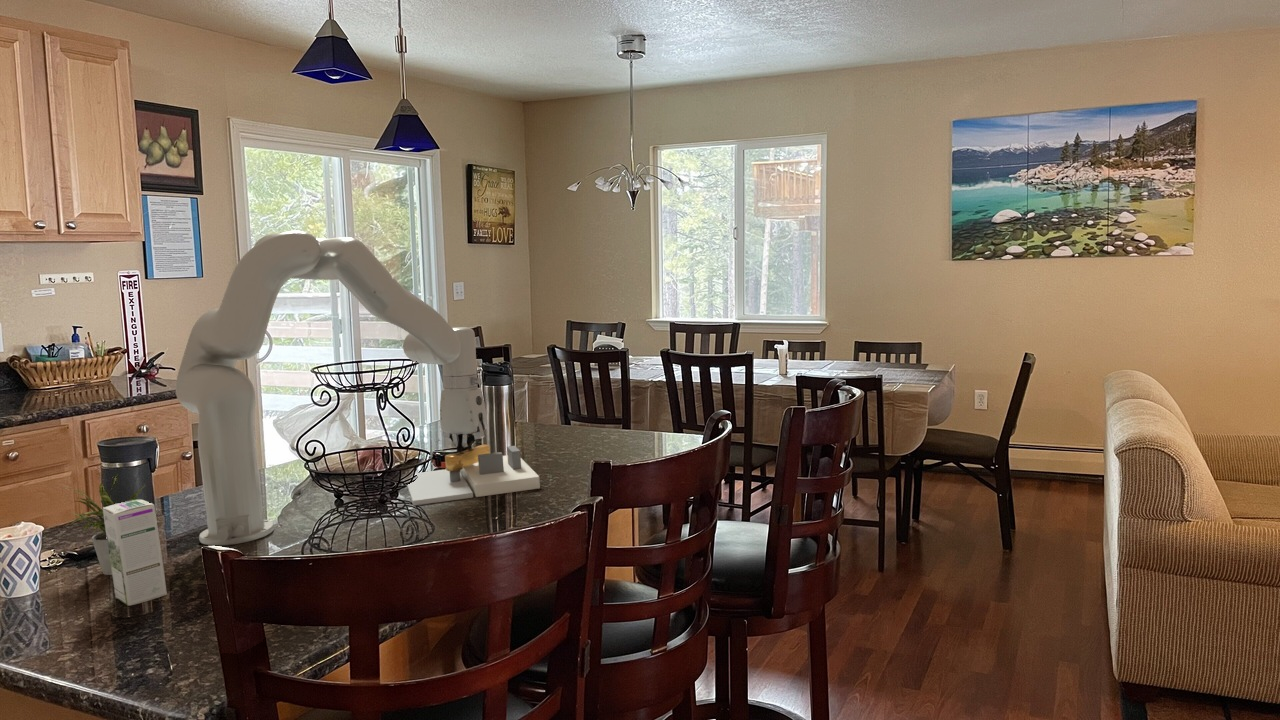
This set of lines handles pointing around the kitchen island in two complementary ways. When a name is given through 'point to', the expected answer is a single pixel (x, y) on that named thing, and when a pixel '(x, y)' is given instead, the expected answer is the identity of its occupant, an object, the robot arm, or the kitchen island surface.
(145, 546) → the syrup box
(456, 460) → the latch bar
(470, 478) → the door mock-up
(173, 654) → the kitchen island surface
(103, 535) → the house plant
